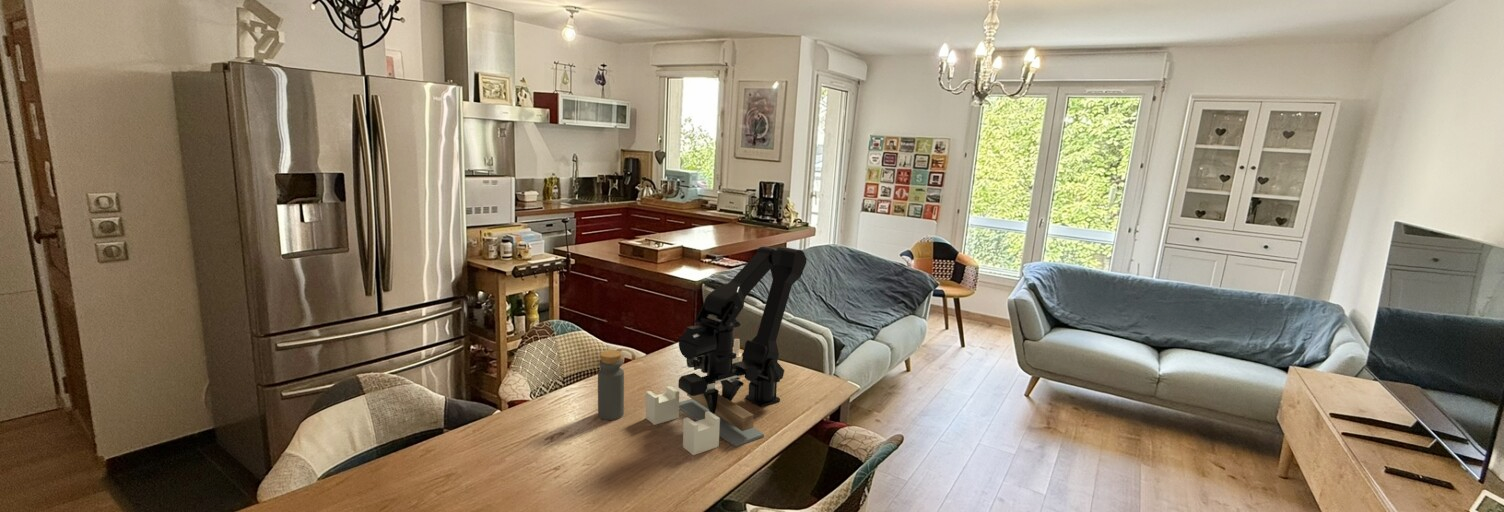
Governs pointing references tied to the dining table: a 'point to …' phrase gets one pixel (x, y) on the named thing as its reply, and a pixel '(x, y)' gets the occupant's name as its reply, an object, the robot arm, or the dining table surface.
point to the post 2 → (701, 434)
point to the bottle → (610, 386)
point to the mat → (721, 424)
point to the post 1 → (662, 406)
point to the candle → (736, 351)
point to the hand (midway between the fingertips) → (718, 412)
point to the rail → (729, 411)
